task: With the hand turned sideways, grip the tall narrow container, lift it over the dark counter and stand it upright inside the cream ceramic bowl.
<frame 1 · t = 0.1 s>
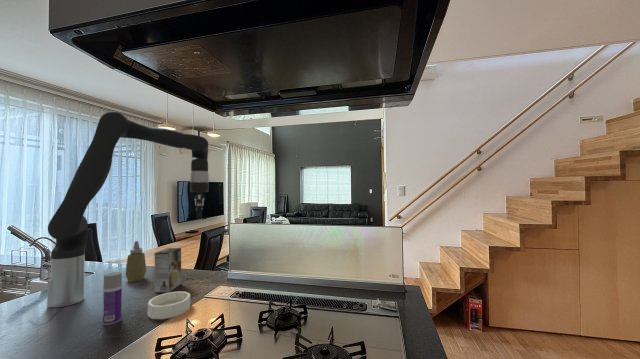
hand: (199, 217, 118), 29 cm above the worktop, tool pointing down, fingers open, 8 cm apart
coffee box: (168, 288, 112), on the worktop
squeeze bottle: (136, 280, 123), on the worktop
bowl: (169, 310, 92), on the worktop
container: (112, 322, 84), on the worktop
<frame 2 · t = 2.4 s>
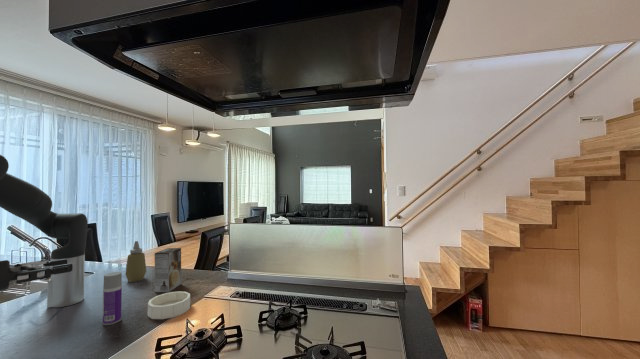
hand: (69, 264, 77), 20 cm above the worktop, tool horizontal, fingers open, 8 cm apart
nothing on the worktop moved.
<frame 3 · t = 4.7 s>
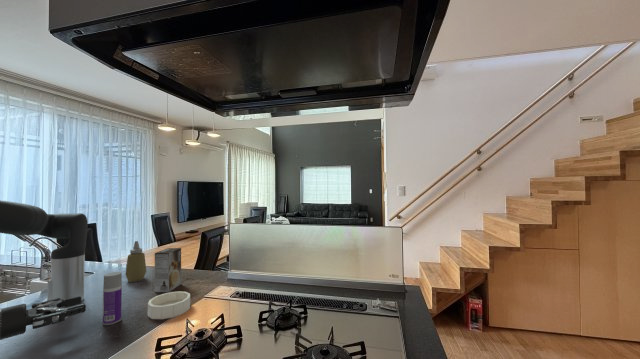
hand: (83, 303, 79), 8 cm above the worktop, tool horizontal, fingers open, 8 cm apart
nothing on the worktop moved.
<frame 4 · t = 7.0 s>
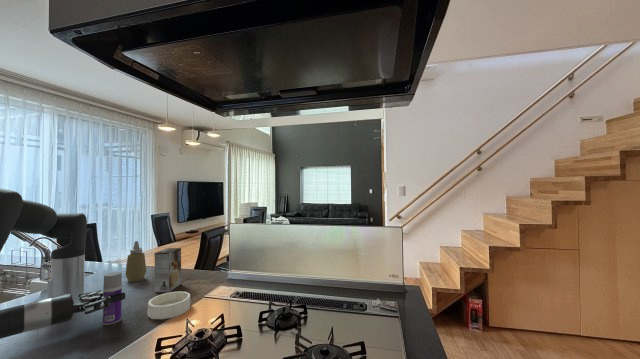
hand: (122, 293, 87), 8 cm above the worktop, tool horizontal, fingers closed on container, 4 cm apart
container: (112, 322, 84), on the worktop, touching gripper
everything else where it was.
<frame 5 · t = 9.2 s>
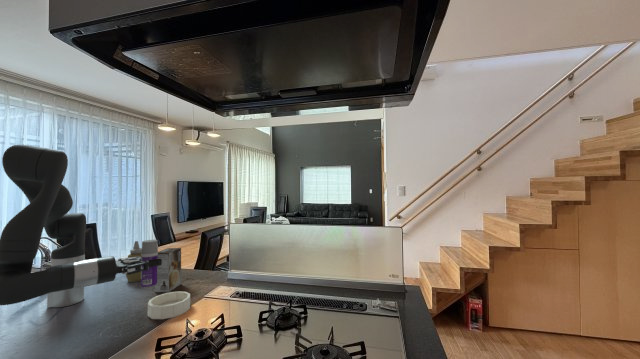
hand: (158, 260, 91), 18 cm above the worktop, tool horizontal, fingers closed on container, 4 cm apart
container: (149, 286, 89), point 9 cm above the worktop, touching gripper
everything else where it was.
when the fingers open (10 cm above the worktop, at t = 11.4 s): container drops 1 cm, resting on bowl.
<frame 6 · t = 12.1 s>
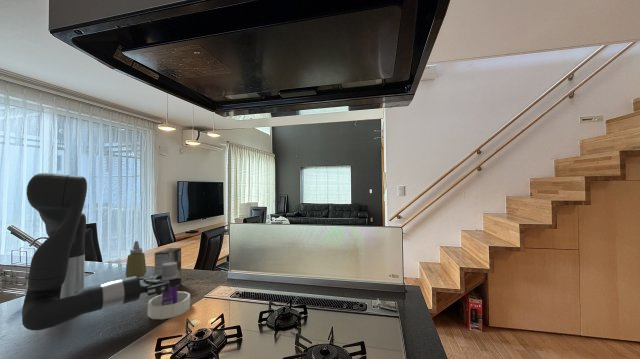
hand: (175, 278, 93), 11 cm above the worktop, tool horizontal, fingers open, 8 cm apart
container: (169, 308, 92), point 1 cm above the worktop, touching bowl
everything else where it was.
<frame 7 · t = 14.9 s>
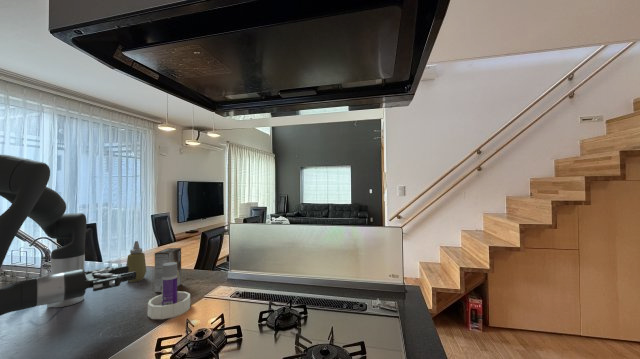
hand: (132, 271, 84), 16 cm above the worktop, tool horizontal, fingers open, 8 cm apart
nothing on the worktop moved.
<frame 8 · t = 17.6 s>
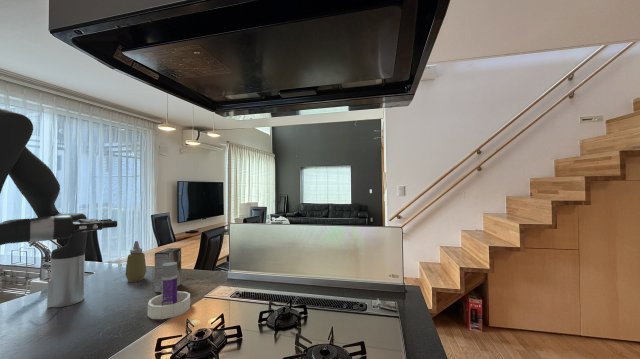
hand: (114, 222, 97), 30 cm above the worktop, tool horizontal, fingers open, 8 cm apart
nothing on the worktop moved.
at the end: container 0.1 cm off-centre on the bowl, point 0.8 cm above the bowl's base; container tilted 0°; the gripper is holding nothing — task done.
